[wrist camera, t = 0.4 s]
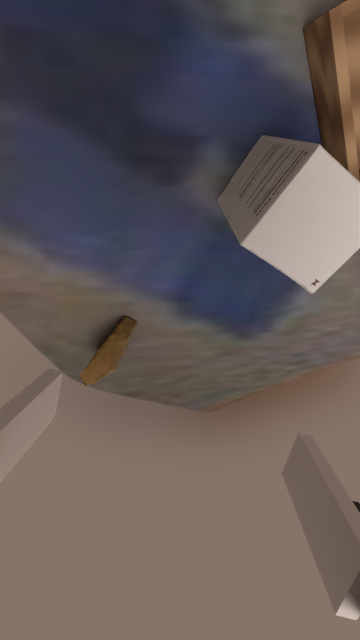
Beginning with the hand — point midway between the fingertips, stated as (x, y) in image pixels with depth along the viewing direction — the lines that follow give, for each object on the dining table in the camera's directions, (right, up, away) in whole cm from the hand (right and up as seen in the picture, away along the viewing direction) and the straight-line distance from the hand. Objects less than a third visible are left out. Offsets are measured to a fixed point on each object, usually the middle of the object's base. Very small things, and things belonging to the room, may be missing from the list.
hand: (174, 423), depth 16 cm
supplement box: (+11, +23, +23) cm, 34 cm away
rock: (-10, +2, +36) cm, 38 cm away
